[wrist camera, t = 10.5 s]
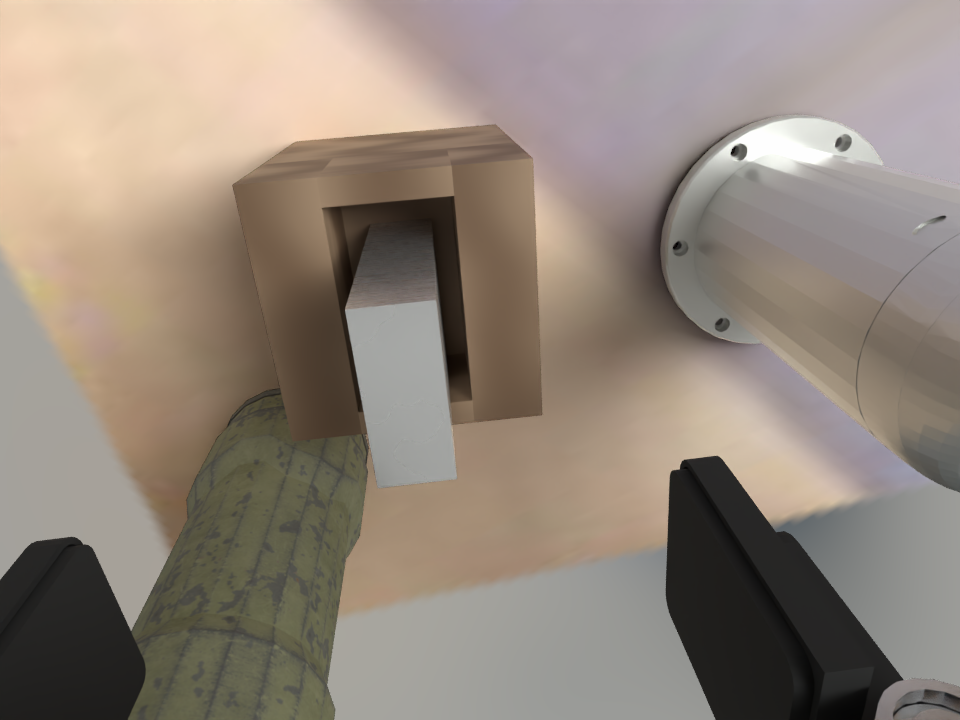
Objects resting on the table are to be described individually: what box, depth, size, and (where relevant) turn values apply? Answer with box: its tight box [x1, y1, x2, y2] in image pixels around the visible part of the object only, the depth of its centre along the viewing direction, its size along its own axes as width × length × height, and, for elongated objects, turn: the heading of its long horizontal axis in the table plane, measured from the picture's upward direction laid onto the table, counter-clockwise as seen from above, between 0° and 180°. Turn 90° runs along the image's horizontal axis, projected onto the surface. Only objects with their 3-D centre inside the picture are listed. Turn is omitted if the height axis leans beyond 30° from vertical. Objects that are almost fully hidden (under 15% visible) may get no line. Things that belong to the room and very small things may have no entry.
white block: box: [345, 218, 457, 488], centre depth 23 cm, size 2×6×10 cm, turn 5°
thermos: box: [128, 389, 368, 720], centre depth 24 cm, size 9×12×35 cm
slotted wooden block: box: [233, 125, 542, 441], centre depth 29 cm, size 10×10×12 cm
